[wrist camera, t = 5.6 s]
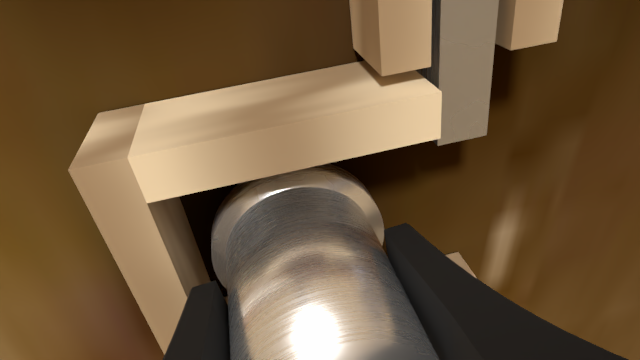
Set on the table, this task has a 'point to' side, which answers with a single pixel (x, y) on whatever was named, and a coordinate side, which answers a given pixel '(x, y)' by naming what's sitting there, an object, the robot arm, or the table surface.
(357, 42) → the dock
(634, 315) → the table surface
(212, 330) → the robot arm
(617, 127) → the table surface
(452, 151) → the table surface
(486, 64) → the pin
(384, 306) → the silver metal cylinder
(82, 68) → the table surface
